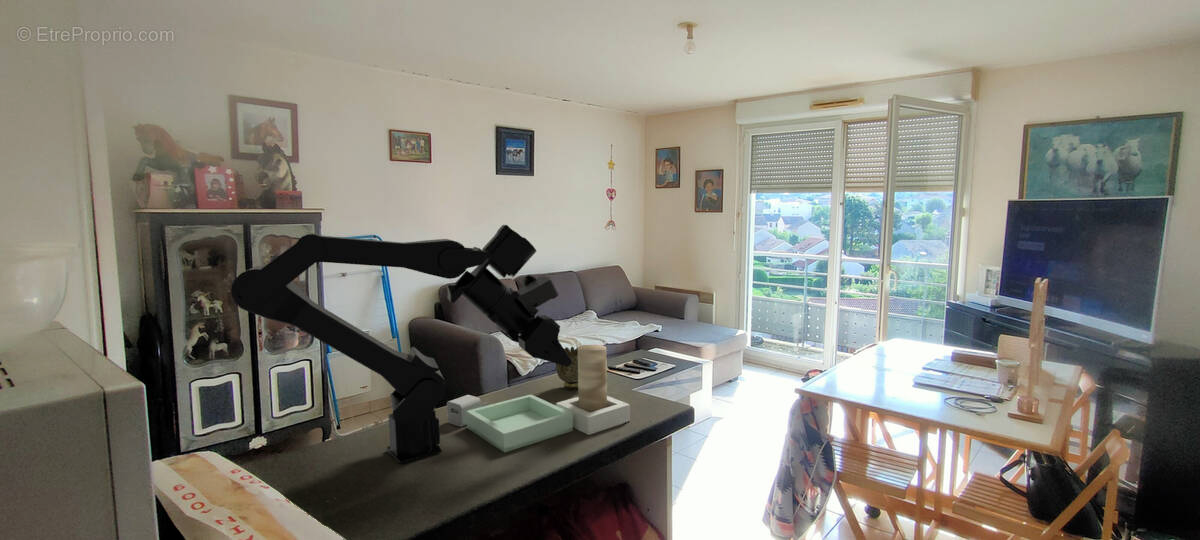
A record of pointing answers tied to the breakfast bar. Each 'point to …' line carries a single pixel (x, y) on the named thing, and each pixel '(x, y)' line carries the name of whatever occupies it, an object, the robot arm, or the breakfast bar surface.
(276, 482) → the breakfast bar surface
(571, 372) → the cup
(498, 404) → the pale green tray
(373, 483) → the breakfast bar surface
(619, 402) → the white square frame
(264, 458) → the breakfast bar surface
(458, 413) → the usb wall charger
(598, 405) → the beech dowel
